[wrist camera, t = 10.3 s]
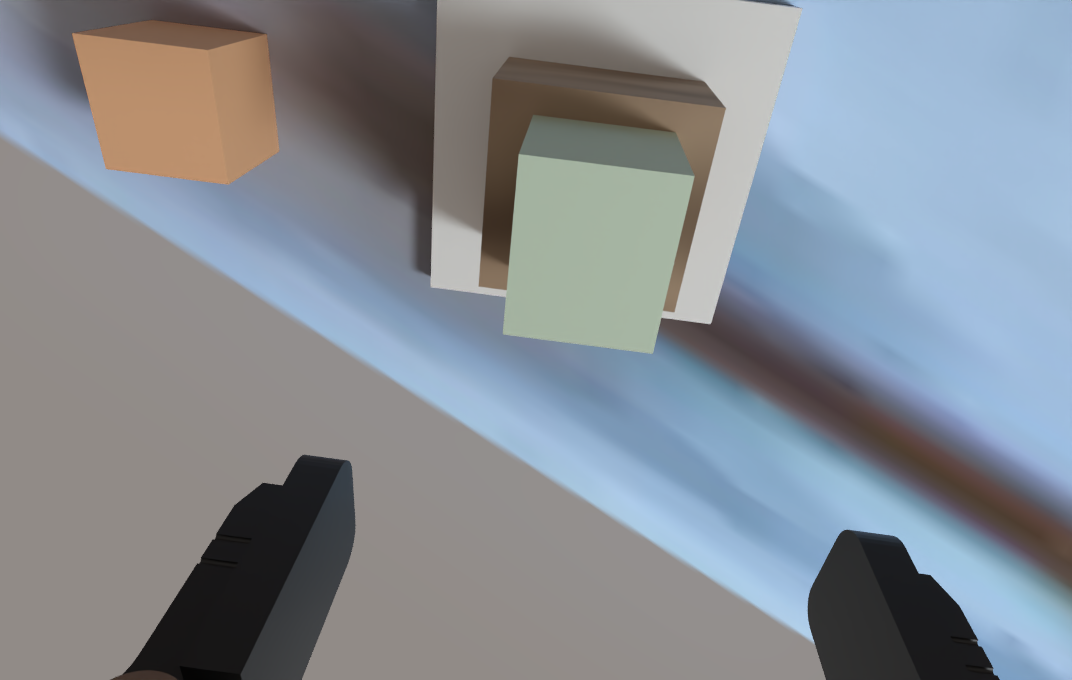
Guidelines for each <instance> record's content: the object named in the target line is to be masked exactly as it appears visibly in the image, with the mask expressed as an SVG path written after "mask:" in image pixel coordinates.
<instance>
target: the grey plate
mask: <svg viewBox="0 0 1072 680" xmlns="http://www.w3.org/2000/svg"><path fill="white" fill-rule="evenodd" d="M801 12H802V8H799V7H796V6H788V5H780V4H772V3H764V2H756V1H748V0H437V34H436V77H435V121H434V164H433V208H432V252H431V287H434V288H442V289H449V290H457V291H464V292H472V293H479V294H487V295H495V296H502V297H506V293H507V290H501V289H493V288H486V287H479V272H480V257H481V242H482V227H483V212H484V197H485V182H486V167H487V152H488V137H489V122H490V107H491V92H492V78H493V77H494V75H495V74H496V73H497V72H498V70H499V69H500V68H501V67H502V65H503V64H504V63H505V61H506V60H507V59H508V58H509V57H515V58H523V59H531V60H539V61H547V62H555V63H562V64H570V65H578V66H586V67H594V68H601V69H609V70H617V71H625V72H633V73H640V74H648V75H656V76H664V77H672V78H680V79H687V80H695V81H703V82H705V83H706V84H707V85H708V86H709V88H710V89H711V90H712V91H713V93H714V94H715V95H716V96H717V98H718V99H719V100H720V101H721V102H722V104H723V105H724V106H725V107H726V110H725V114H724V118H723V122H722V126H721V130H720V134H719V138H718V142H717V146H716V150H715V154H714V158H713V162H712V166H711V169H710V173H709V177H708V181H707V185H706V189H705V193H704V197H703V201H702V205H701V209H700V213H699V217H698V221H697V225H696V229H695V233H694V237H693V241H692V245H691V249H690V253H689V256H688V260H687V264H686V268H685V272H684V276H683V280H682V284H681V288H680V292H679V296H678V300H677V304H676V308H675V312H667V311H663V312H662V316H661V318H669V319H676V320H684V321H691V322H699V323H706V324H711V322H712V318H713V315H714V311H715V308H716V304H717V301H718V298H719V294H720V291H721V287H722V284H723V280H724V277H725V273H726V270H727V267H728V263H729V260H730V256H731V253H732V249H733V246H734V242H735V239H736V236H737V232H738V229H739V225H740V222H741V218H742V215H743V211H744V208H745V205H746V201H747V198H748V194H749V191H750V187H751V184H752V180H753V177H754V174H755V170H756V167H757V163H758V160H759V156H760V153H761V149H762V146H763V143H764V139H765V136H766V132H767V129H768V125H769V122H770V119H771V115H772V112H773V108H774V105H775V101H776V98H777V94H778V91H779V88H780V84H781V81H782V77H783V74H784V70H785V67H786V63H787V60H788V57H789V53H790V50H791V46H792V43H793V39H794V36H795V32H796V29H797V26H798V22H799V19H800V15H801Z"/></svg>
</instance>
